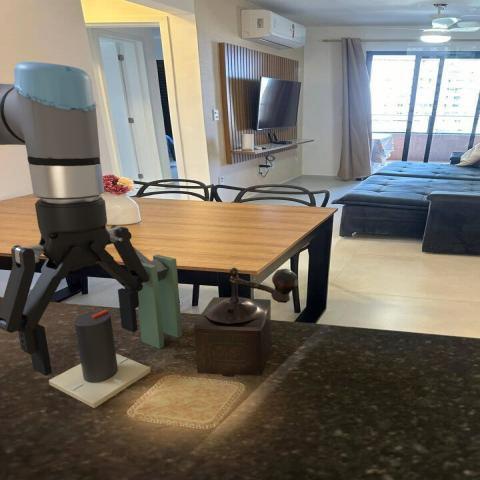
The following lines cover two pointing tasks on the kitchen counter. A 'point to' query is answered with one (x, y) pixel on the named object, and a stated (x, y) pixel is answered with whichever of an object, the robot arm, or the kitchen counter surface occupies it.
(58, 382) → the dial panel
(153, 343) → the green lever stand
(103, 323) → the cylinder
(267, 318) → the coffee grinder
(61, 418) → the kitchen counter surface
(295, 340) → the kitchen counter surface
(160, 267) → the dark grey lever
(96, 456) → the kitchen counter surface
